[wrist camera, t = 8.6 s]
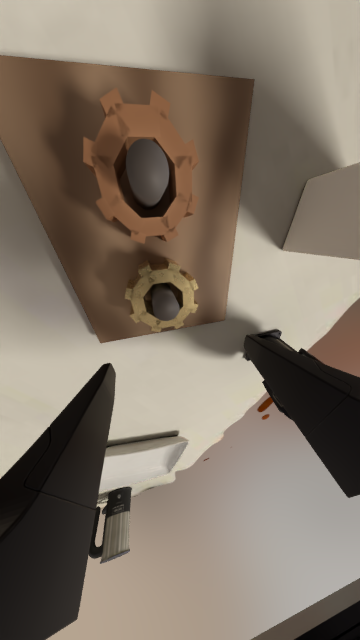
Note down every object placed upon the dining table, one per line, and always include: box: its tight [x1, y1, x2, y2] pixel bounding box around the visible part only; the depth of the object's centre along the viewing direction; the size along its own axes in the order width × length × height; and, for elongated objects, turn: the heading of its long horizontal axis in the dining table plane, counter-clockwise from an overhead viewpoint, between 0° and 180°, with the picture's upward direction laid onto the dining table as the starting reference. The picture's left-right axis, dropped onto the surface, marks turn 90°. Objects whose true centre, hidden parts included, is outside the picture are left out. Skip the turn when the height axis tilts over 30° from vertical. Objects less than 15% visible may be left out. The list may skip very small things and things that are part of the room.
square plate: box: [99, 436, 189, 492], centre depth 43 cm, size 27×27×4 cm
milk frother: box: [89, 487, 132, 564], centre depth 55 cm, size 14×16×15 cm
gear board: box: [0, 55, 254, 343], centre depth 13 cm, size 18×21×6 cm
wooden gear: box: [125, 258, 199, 332], centre depth 16 cm, size 7×7×3 cm
